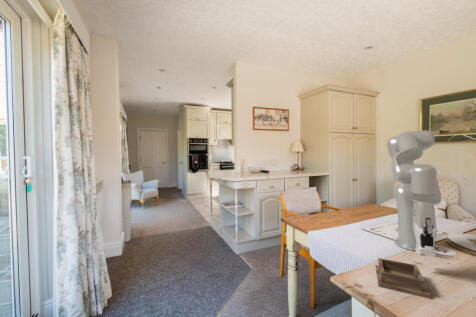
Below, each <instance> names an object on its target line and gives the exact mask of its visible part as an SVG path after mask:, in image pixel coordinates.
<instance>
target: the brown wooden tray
mask: <svg viewBox="0 0 476 317" xmlns="http://www.w3.org/2000/svg"><path fill="white" fill-rule="evenodd" d="M377 259H378V261H377V262H378V264H375V272H376V278H377V283H378V287H380V288H383V289H388V290H392V291H396V292H401V293H404V294H409V295H411V296H412V295H413V296H418V297H422V298H424V299H428V300H429V299H430V300H431V299H432V298H431V293H430V291H429V290H428V287H427V285H426V280H425V279H424V277H423V275H422V274H421V272H420V270H419V269H420V268H418V266H417V265H416V264H413V263H407V262H401V261H396V260H390V259H385V258H381V257H380V258H379V257H378V258H377Z"/></svg>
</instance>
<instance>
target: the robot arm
mask: <svg viewBox="0 0 476 317" xmlns="http://www.w3.org/2000/svg"><path fill="white" fill-rule="evenodd" d="M435 141H436V139H435V135H434V133H433V132H432V131H430V130H425V129H424V130H413V131H410V130H409V131H404V132H400V133H399V134H398V135H397V136H393V137H390V138H389V139H387V141H386V147H387V148H386V149H387V151H388V152H387V153H388V154H389V156H390V158H391V159H392V160H391V165H390V166H391V172H392V176H393V178H394V180H396V181H397V182H398V183H399V185H397V186H396V187H395V188H394V195H395V199H396V207H397V209H396V210H397V227H398V228H397V230H398V231H397V234H398V239H395V240H394V243H395V245H396V246H398V247H399V248H403V249H405V250H407V251H408V250H410V251H413V250H415V248H416V238H415V234H414V229H413V216H414V215H415V216H416V223H417V226H418V227H419V228H421V227H422V232H423V235H422V245H424V246H430V247H433V246H434V247H435V244H434V245H433V229H434V228H435V217H436V211H435V205H439V204H440V203H441V202H442V193H441V188H440V185H439V180H438V177H437V176H438V173H437V169H436V168H435V166H433V165H432V164H426V163H425V164H415V163H414V162H415V161H416V160H419V159H420V158H422V156H423V154H424V151H426V150H428V149H430V148H431V147H433V146H434V144H435ZM425 223H426V225H427V227H424V225H425ZM432 226H433V227H432ZM425 229H427V230H426V231H425Z"/></svg>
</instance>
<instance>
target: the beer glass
mask: <svg viewBox="0 0 476 317" xmlns="http://www.w3.org/2000/svg"><path fill="white" fill-rule="evenodd" d="M437 226H438V225H437V219H436V216H435V228H434V229H433V245H434V246H433V247H430V246H424V245H422V235H423V232H422V227H421V228H419V227H418V226H417V223H416V216H415V215H414V216H413V229H414V234H415V238H416V248H415V251H414V252H415V253H416V254H418V255H419V256H423V257H427V258H434V257H435V258H436V249H435V242H436V239H437V232H438V230H437V229H438V227H437ZM424 227H427V225H426V223H425V225H424ZM432 227H433V226H432ZM426 230H427V229H425V231H426Z"/></svg>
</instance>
